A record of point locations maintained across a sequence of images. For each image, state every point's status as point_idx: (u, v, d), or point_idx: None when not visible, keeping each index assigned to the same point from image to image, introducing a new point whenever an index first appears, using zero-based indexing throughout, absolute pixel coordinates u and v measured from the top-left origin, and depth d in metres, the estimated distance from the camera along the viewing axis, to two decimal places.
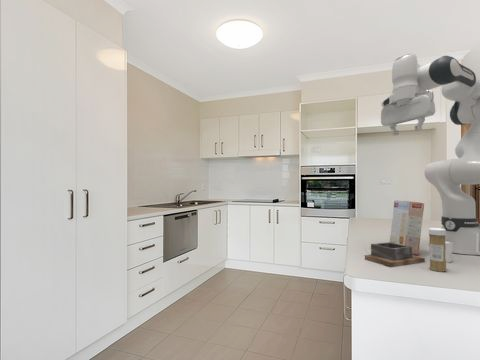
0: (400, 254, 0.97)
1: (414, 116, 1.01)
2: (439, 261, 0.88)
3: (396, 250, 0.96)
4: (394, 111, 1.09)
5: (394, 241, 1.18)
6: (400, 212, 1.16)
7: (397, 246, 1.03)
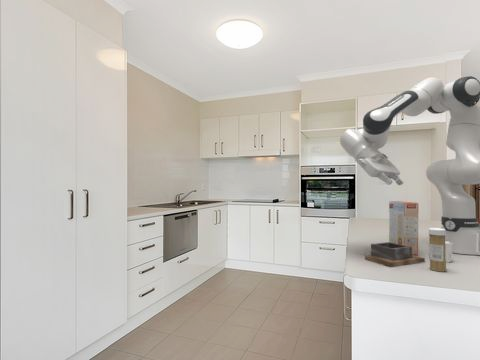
0: (400, 254, 0.97)
1: None
2: (439, 261, 0.88)
3: (396, 250, 0.96)
4: None
5: None
6: (396, 214, 1.16)
7: (397, 246, 1.03)
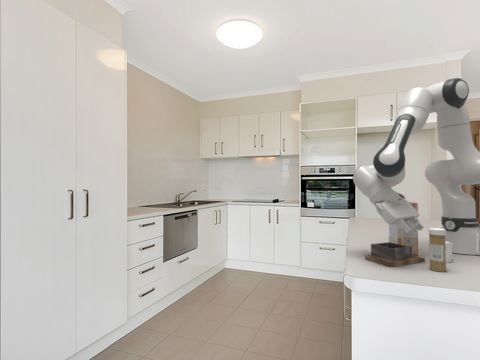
0: (400, 254, 0.97)
1: None
2: (439, 261, 0.88)
3: (396, 250, 0.96)
4: None
5: None
6: None
7: (397, 246, 1.03)
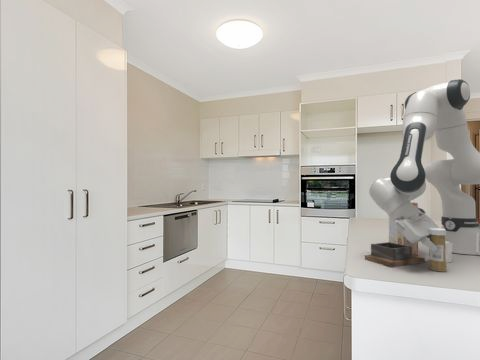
0: (400, 254, 0.97)
1: None
2: (439, 261, 0.88)
3: (396, 250, 0.96)
4: None
5: None
6: None
7: (397, 246, 1.03)
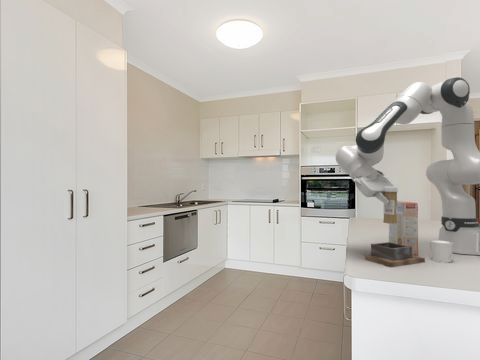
0: (400, 254, 0.97)
1: None
2: (390, 214, 1.00)
3: (396, 250, 0.96)
4: None
5: None
6: None
7: (397, 246, 1.03)
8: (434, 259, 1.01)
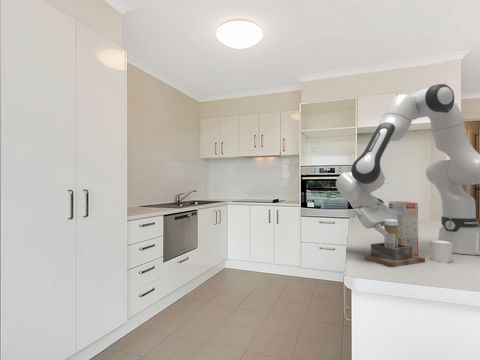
0: (400, 254, 0.97)
1: None
2: None
3: (396, 250, 0.96)
4: None
5: None
6: (395, 214, 1.16)
7: None
8: (434, 259, 1.01)
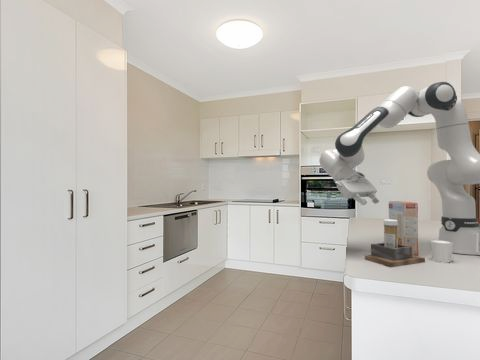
0: (400, 254, 0.97)
1: None
2: None
3: (396, 250, 0.96)
4: None
5: None
6: (395, 214, 1.16)
7: None
8: (434, 259, 1.01)
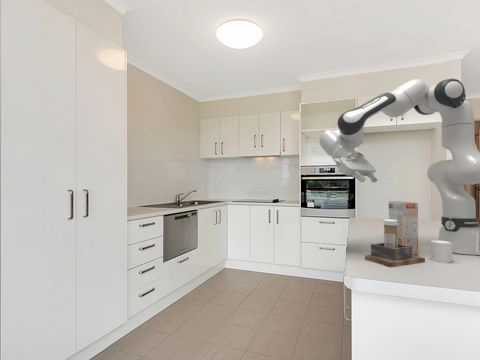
0: (400, 254, 0.97)
1: None
2: None
3: (396, 250, 0.96)
4: None
5: None
6: (395, 214, 1.16)
7: None
8: (434, 259, 1.01)
